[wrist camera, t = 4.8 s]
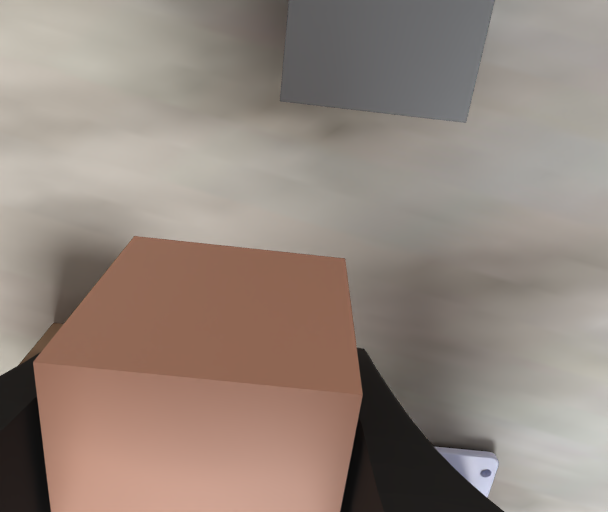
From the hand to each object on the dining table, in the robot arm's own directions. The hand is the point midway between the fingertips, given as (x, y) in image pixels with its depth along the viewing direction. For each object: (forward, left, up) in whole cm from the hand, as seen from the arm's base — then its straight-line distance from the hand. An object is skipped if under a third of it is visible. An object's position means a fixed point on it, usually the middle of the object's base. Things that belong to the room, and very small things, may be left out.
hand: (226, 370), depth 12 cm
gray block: (+8, -3, -9) cm, 13 cm away
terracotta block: (0, 0, -1) cm, 1 cm away
